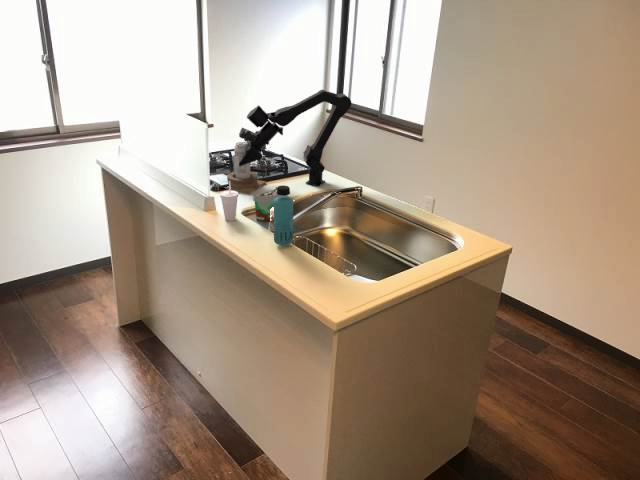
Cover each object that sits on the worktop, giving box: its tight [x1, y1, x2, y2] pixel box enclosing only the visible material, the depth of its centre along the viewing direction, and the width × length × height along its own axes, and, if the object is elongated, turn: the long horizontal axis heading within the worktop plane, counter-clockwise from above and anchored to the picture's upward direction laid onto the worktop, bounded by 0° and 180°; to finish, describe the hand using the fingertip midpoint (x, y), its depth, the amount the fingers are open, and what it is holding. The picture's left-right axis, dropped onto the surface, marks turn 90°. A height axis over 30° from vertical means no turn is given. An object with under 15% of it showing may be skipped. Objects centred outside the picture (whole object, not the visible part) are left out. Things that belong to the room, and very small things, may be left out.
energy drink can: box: [233, 141, 251, 179], centre depth 215 cm, size 6×6×15 cm
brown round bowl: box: [224, 171, 267, 195], centre depth 219 cm, size 14×14×4 cm
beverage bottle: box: [273, 185, 295, 246], centre depth 167 cm, size 6×7×20 cm
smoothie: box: [219, 181, 239, 222], centre depth 186 cm, size 6×6×14 cm
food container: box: [252, 186, 280, 223], centre depth 188 cm, size 12×6×10 cm, turn 143°
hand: (238, 162), depth 215 cm, fingers closed on energy drink can, 6 cm apart
